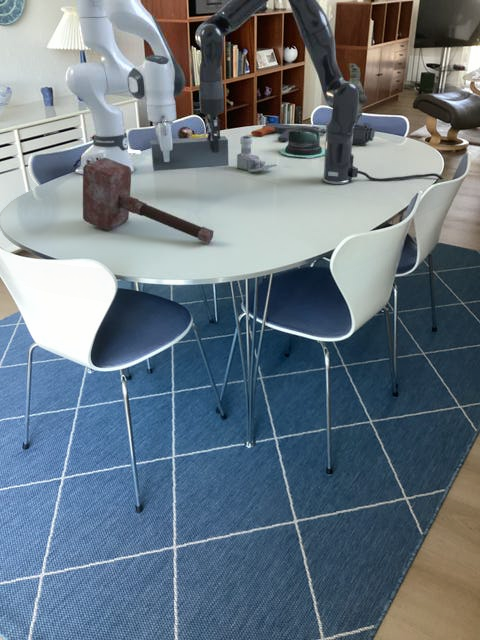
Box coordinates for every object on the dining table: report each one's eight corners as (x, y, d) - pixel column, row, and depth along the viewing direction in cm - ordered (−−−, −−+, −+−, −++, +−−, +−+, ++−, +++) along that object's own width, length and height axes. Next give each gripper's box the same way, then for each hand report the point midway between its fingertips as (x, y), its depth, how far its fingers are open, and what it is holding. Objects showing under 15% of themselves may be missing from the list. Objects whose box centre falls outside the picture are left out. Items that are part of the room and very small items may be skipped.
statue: (367, 132, 266) (374, 63, 251) (349, 133, 264) (355, 64, 249) (357, 127, 275) (362, 61, 260) (339, 129, 273) (344, 62, 258)
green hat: (332, 145, 241) (326, 158, 224) (294, 164, 249) (286, 177, 233) (317, 113, 235) (310, 124, 219) (279, 133, 244) (269, 145, 228)
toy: (345, 120, 249) (377, 123, 242) (343, 139, 253) (375, 143, 246) (337, 123, 243) (369, 127, 236) (336, 143, 247) (367, 147, 240)
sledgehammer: (223, 202, 148) (103, 155, 160) (205, 213, 141) (81, 164, 152) (214, 257, 158) (102, 210, 170) (196, 271, 151) (81, 220, 163)
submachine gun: (244, 132, 259) (268, 122, 277) (244, 138, 260) (268, 128, 279) (307, 138, 245) (328, 127, 264) (307, 145, 246) (328, 133, 265)
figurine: (211, 139, 238) (170, 125, 250) (210, 157, 242) (170, 142, 255) (230, 134, 247) (190, 120, 259) (229, 150, 251) (189, 136, 263)
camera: (247, 133, 214) (277, 139, 205) (247, 164, 220) (276, 171, 211) (231, 137, 209) (262, 144, 200) (232, 169, 215) (261, 176, 206)
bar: (153, 171, 178) (151, 144, 173) (152, 166, 182) (150, 140, 178) (228, 165, 182) (227, 139, 177) (225, 161, 186) (224, 135, 182)
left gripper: (175, 119, 164) (178, 166, 171) (169, 107, 181) (172, 150, 188) (153, 120, 163) (158, 167, 170) (150, 108, 180) (154, 151, 187)
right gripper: (227, 99, 167) (228, 153, 175) (219, 92, 179) (221, 143, 187) (202, 100, 166) (205, 155, 174) (196, 93, 178) (199, 145, 186)
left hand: (165, 158), depth 179 cm, fingers closed on bar, 5 cm apart
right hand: (213, 149), depth 181 cm, fingers open, 8 cm apart
